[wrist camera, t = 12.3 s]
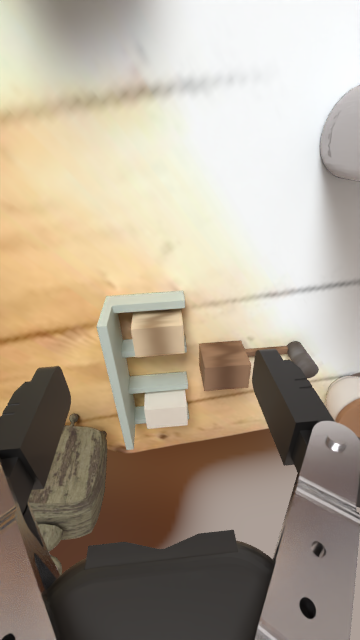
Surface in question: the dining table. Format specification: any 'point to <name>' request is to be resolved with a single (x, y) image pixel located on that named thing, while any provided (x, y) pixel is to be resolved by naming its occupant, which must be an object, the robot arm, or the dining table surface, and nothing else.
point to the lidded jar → (345, 402)
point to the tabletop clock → (72, 486)
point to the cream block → (165, 408)
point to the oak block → (157, 332)
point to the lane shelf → (120, 349)
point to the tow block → (242, 363)
